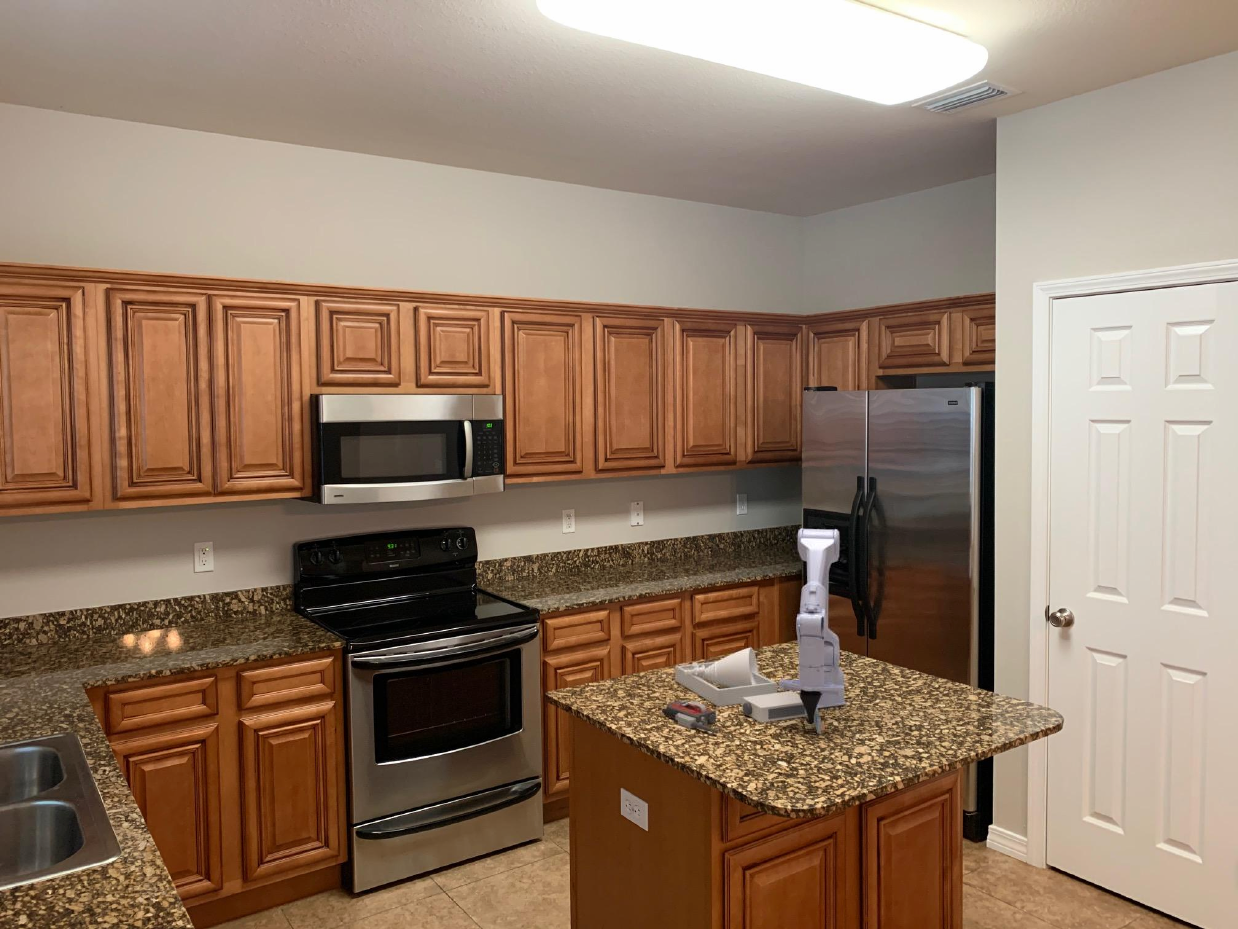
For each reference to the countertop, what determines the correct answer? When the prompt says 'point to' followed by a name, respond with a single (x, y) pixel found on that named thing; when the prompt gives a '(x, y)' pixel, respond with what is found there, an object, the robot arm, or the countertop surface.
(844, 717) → the countertop surface
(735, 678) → the rocket engine
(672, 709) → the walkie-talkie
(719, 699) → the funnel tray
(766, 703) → the white box with knob
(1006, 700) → the countertop surface
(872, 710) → the countertop surface
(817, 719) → the side door
